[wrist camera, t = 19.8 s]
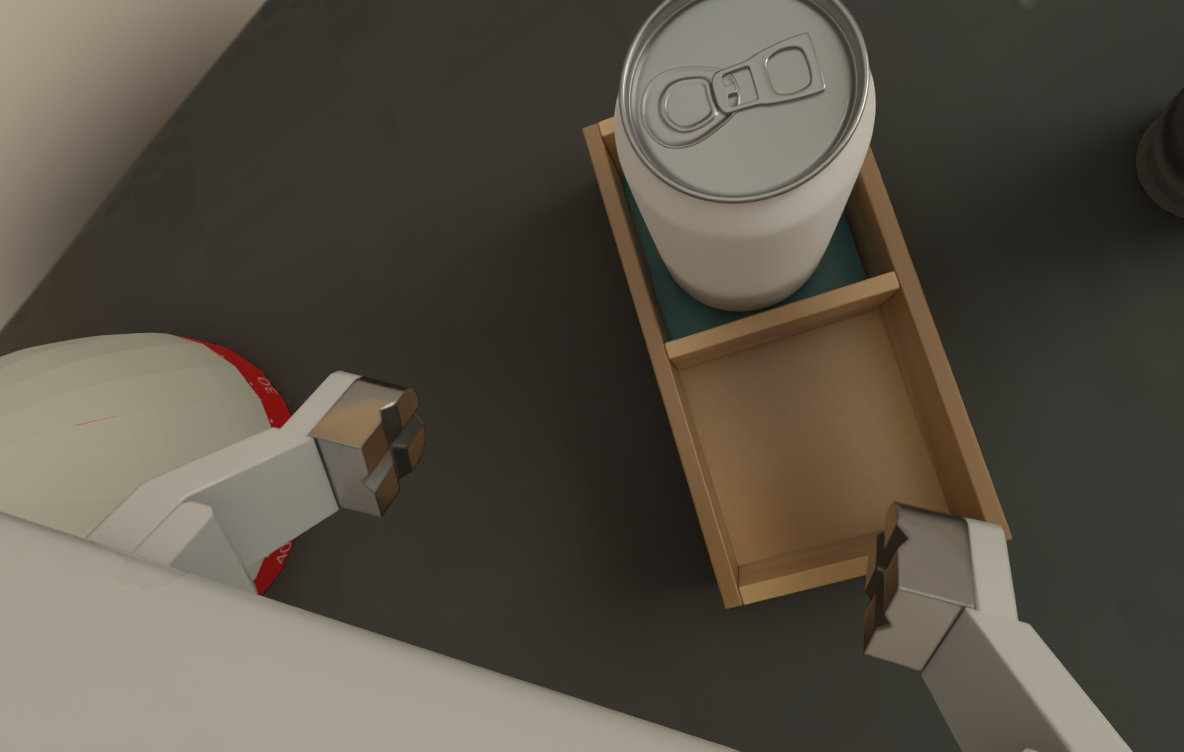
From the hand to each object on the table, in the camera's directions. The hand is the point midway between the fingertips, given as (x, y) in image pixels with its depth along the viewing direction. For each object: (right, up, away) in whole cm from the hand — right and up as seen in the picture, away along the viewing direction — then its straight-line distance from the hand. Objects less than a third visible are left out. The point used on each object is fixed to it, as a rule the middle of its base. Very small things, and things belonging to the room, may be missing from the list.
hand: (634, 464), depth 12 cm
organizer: (+6, +3, +16) cm, 18 cm away
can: (+5, +7, +16) cm, 18 cm away
